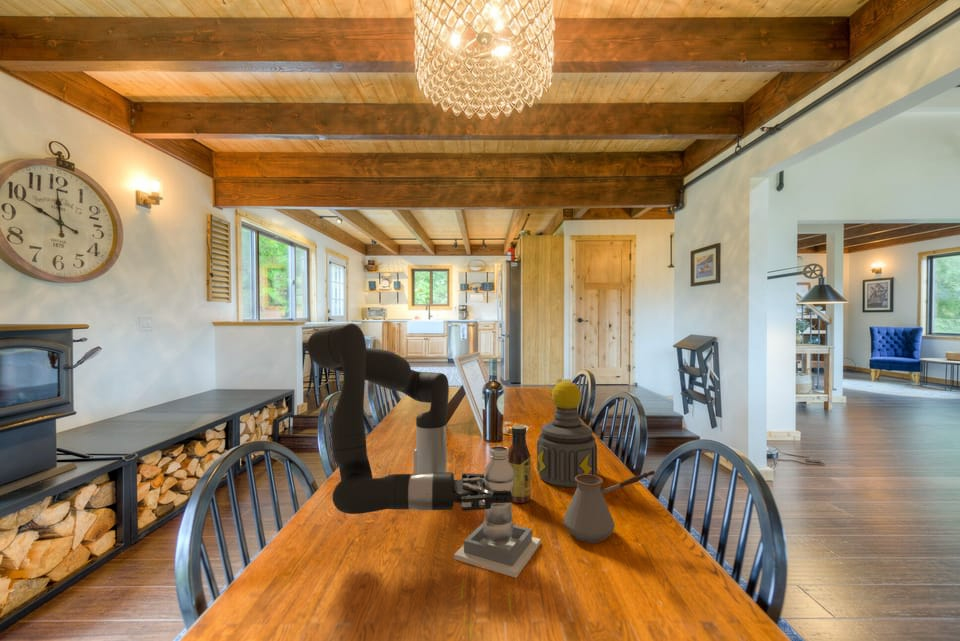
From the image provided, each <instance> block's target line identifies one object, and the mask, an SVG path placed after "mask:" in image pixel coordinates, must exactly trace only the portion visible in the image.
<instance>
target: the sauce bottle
mask: <svg viewBox="0 0 960 641" xmlns="http://www.w3.org/2000/svg"><path fill="white" fill-rule="evenodd" d="M526 433H527V427H526V426H525V425H513V426H511V436H512V437H511V438H512V440H511V445H510V446H509V447H508V458H507V460H508V462H509V463H510V464H511V466H512V468H513V470H514V482H513V488H512V501H511V503H515V504H516V503H517V504H518V503H519V504H523V503H526V502H528V501H529V500H530V499H531V454H530V451H529V448H528V444H527V441H526V440H527V438H526V435H527V434H526Z"/></svg>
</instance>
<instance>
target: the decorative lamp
mask: <svg viewBox="0 0 960 641" xmlns="http://www.w3.org/2000/svg"><path fill="white" fill-rule="evenodd" d="M551 399H552V401H553V404H554V406H555V409H554V411H555V412H554V414H553V417H554V418H553V419H552V421H550V422H547V423H545V424H543V425H542V426H541V428H540V429H541V433H540V434H539V435H538V439H537V442H536V470H537V472H538V476H539V478H541V480H543V481H544V482H545V483H547V484H550V485H553V486H555V487H561V488H562V487H564V488H577V487H578V486H577V482H576V481H575V477H576V476H577V475H580V474H591V475H596V476H597V475H598V445H597V442H596V438H595V437H594V435H593V429H592V427H591V426H589V425H587V424H585V423H582V422H581V420H580V414H579V413H578V412H579V411H578V410H579V409H578V407H579V405H580V403H581V401H582V392H581V390H580V388H579V387H578V386H577V385H576V383H573V382H572V381H567V380H566V381H561V382H559V383H557V384H556V385H555V386H554V387H553V388H552V392H551Z"/></svg>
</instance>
